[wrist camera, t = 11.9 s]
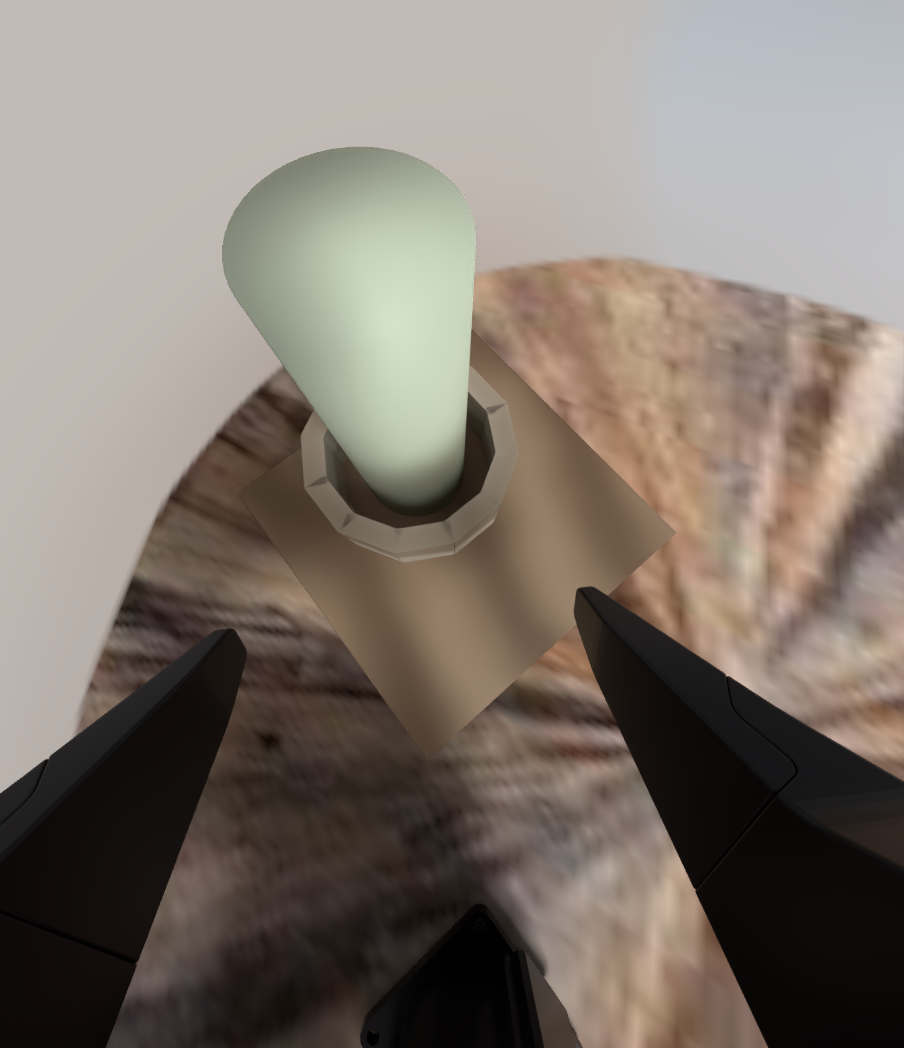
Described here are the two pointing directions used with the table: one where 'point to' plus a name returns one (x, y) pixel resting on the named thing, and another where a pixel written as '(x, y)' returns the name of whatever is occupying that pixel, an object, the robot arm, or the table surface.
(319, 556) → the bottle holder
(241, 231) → the pale green peg
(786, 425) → the table surface
